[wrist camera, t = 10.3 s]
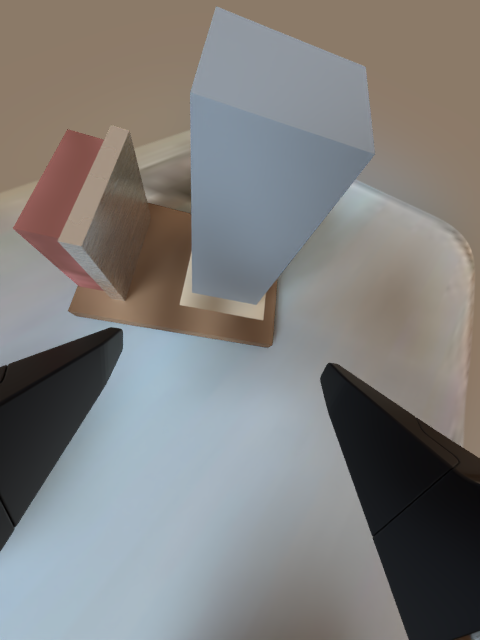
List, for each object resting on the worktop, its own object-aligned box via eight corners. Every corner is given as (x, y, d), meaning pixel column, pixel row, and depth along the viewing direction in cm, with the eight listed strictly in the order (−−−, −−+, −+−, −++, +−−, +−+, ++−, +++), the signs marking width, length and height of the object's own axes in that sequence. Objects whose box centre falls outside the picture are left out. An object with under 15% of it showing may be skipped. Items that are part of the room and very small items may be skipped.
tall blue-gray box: (256, 304, 19) (374, 154, 7) (192, 292, 18) (190, 92, 6) (260, 259, 20) (365, 66, 8) (201, 246, 19) (216, 6, 7)
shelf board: (276, 243, 23) (319, 170, 15) (267, 347, 19) (317, 322, 12) (118, 204, 20) (72, 93, 12) (76, 316, 17) (-23, 256, 9)
